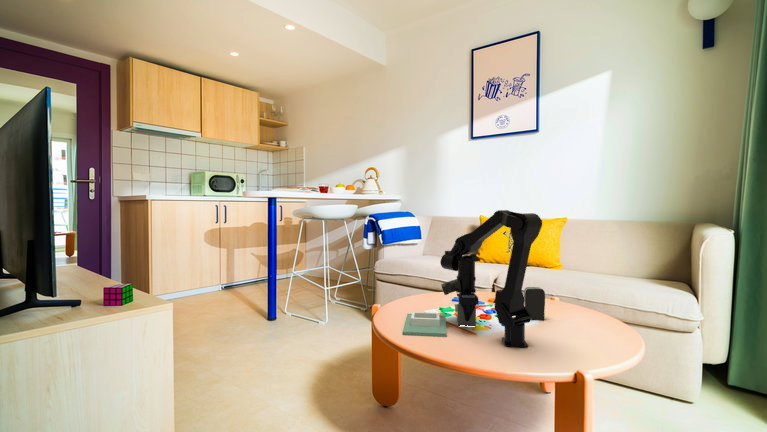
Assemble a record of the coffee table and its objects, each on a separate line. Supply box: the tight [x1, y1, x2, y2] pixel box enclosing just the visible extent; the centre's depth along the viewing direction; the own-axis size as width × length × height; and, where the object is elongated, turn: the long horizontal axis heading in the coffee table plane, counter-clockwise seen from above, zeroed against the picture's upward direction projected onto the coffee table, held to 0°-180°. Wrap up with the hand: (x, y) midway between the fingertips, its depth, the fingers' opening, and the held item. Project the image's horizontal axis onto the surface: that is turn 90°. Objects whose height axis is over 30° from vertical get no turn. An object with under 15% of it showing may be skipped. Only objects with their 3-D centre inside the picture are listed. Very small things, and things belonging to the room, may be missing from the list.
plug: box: [454, 303, 477, 327], centre depth 128 cm, size 4×7×7 cm, turn 82°
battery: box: [523, 286, 546, 321], centre depth 135 cm, size 7×4×11 cm, turn 81°
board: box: [402, 311, 448, 338], centre depth 128 cm, size 20×14×4 cm
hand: (466, 318), depth 128 cm, fingers open, 6 cm apart
